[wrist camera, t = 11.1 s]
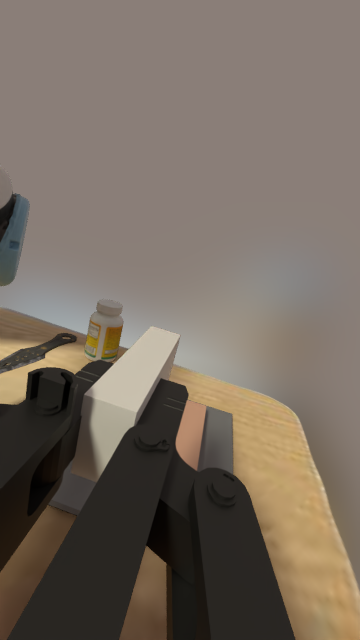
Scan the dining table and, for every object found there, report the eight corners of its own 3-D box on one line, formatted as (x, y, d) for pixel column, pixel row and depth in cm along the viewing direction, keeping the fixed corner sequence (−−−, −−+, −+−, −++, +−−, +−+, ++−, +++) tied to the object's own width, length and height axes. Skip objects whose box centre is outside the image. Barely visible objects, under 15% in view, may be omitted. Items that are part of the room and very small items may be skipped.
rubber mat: (232, 574, 20) (234, 568, 20) (13, 491, 22) (13, 485, 22) (230, 417, 39) (232, 413, 39) (113, 379, 41) (114, 376, 41)
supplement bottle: (80, 360, 44) (89, 303, 42) (88, 346, 50) (96, 295, 47) (113, 366, 45) (124, 311, 43) (118, 352, 50) (128, 302, 48)
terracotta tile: (195, 477, 25) (206, 406, 36) (93, 441, 26) (135, 383, 37) (191, 491, 25) (203, 416, 37) (91, 456, 26) (132, 394, 38)
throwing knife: (81, 341, 52) (82, 338, 52) (-15, 389, 33) (-15, 385, 33) (61, 333, 53) (62, 331, 52) (-45, 377, 34) (-45, 373, 34)
